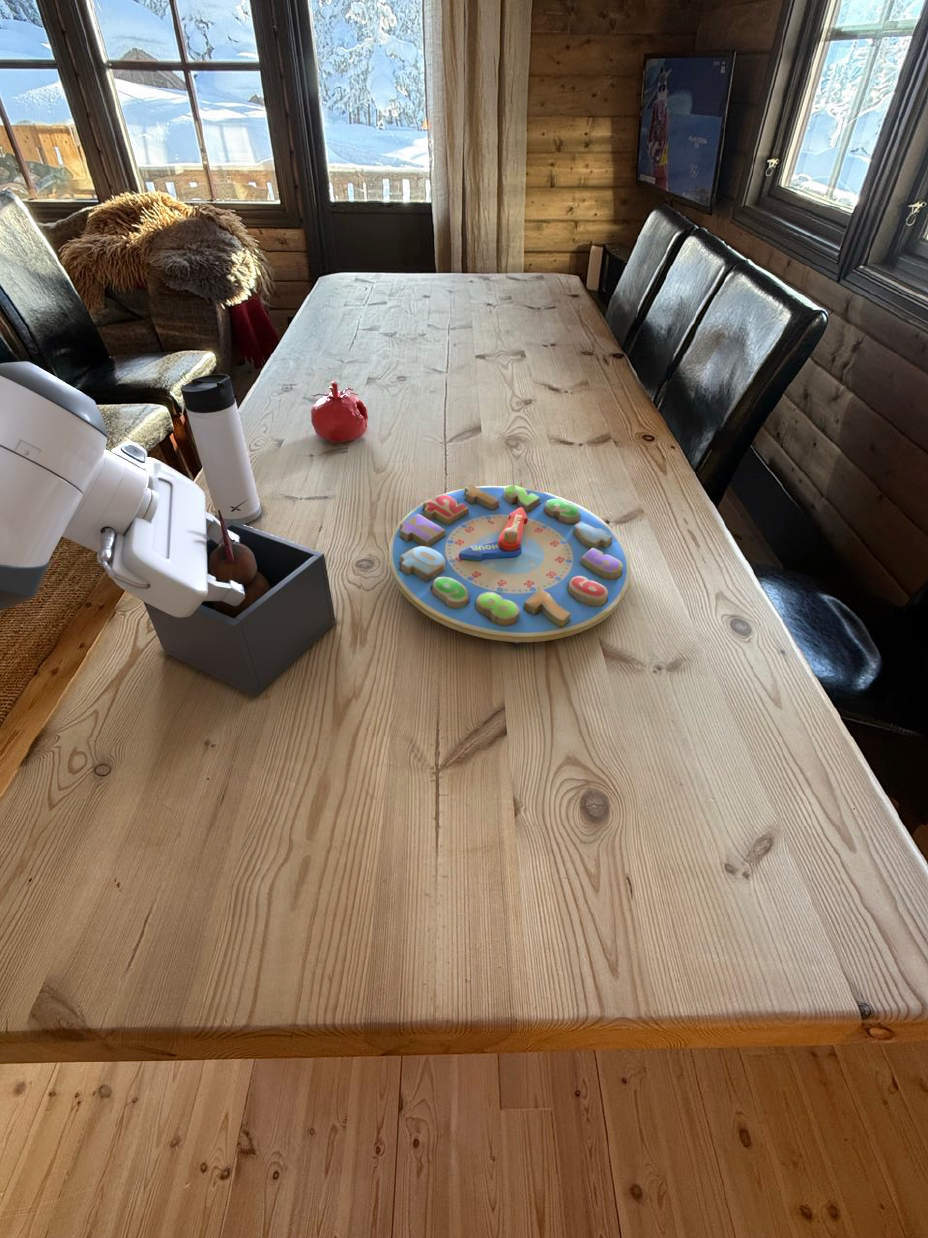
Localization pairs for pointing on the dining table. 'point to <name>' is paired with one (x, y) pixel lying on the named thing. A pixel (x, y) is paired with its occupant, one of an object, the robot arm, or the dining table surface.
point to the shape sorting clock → (509, 563)
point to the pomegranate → (339, 416)
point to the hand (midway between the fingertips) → (239, 570)
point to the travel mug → (222, 447)
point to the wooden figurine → (236, 573)
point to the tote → (255, 617)
